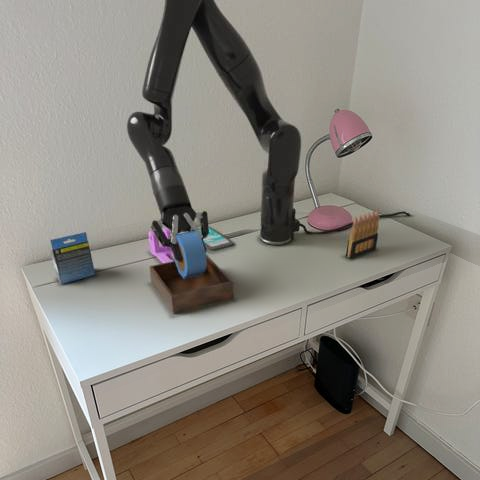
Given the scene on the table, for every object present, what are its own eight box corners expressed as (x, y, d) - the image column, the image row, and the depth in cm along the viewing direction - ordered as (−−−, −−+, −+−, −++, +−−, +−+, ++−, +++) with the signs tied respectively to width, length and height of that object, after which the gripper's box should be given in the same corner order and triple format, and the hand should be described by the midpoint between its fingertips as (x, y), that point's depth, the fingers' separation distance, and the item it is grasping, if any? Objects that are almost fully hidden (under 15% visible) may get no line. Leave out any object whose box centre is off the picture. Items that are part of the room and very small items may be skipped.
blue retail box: (91, 269, 123) (82, 226, 116) (95, 275, 120) (86, 231, 113) (57, 278, 119) (45, 234, 112) (61, 285, 116) (49, 240, 109)
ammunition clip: (350, 259, 128) (356, 218, 121) (345, 256, 129) (351, 216, 122) (375, 249, 133) (383, 209, 126) (370, 247, 134) (378, 207, 128)
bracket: (150, 252, 131) (147, 229, 127) (168, 247, 134) (166, 225, 130) (170, 271, 122) (167, 247, 118) (189, 265, 125) (187, 242, 121)
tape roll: (192, 262, 116) (189, 224, 110) (207, 280, 108) (205, 240, 102) (173, 266, 114) (170, 228, 108) (188, 285, 107) (185, 245, 101)
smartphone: (210, 249, 130) (185, 231, 141) (210, 252, 131) (185, 234, 141) (235, 242, 134) (209, 225, 144) (235, 245, 135) (209, 228, 145)
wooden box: (206, 270, 123) (205, 253, 120) (233, 299, 111) (233, 281, 108) (151, 283, 117) (149, 266, 114) (173, 315, 105) (171, 297, 102)
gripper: (142, 188, 103) (165, 259, 101) (201, 179, 108) (224, 246, 106) (138, 203, 110) (160, 270, 108) (194, 194, 115) (216, 257, 113)
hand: (192, 257), depth 107 cm, fingers closed on tape roll, 5 cm apart
